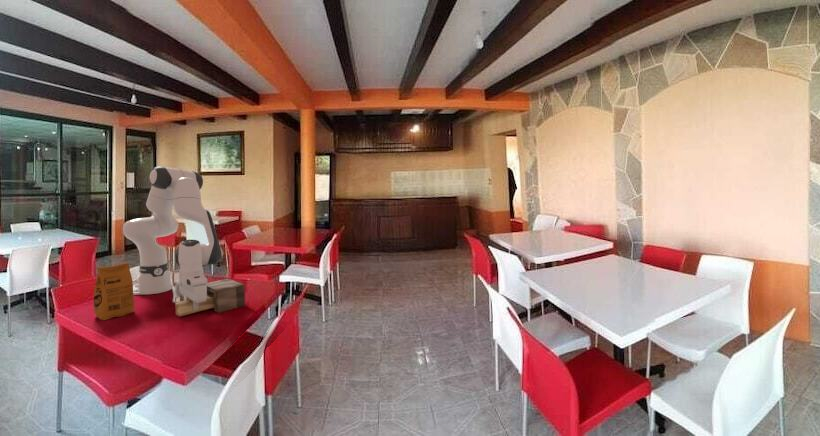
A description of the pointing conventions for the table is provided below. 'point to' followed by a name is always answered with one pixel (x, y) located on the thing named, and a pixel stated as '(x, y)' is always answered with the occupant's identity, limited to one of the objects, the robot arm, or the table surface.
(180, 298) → the beer glass
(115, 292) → the coffee package
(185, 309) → the slat
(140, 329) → the table surface
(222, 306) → the end cap
